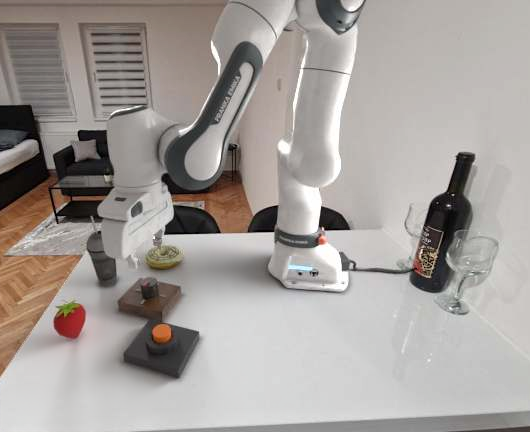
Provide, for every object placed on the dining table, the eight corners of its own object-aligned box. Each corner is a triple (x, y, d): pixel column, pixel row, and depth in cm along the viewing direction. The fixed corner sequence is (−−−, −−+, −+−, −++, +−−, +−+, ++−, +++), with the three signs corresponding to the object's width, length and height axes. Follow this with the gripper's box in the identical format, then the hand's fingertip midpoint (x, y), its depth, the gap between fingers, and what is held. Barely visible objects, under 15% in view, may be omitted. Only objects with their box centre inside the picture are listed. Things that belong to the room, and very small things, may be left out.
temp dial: (147, 286, 77) (145, 274, 76) (161, 289, 76) (159, 277, 75) (138, 296, 74) (136, 283, 72) (153, 299, 73) (151, 286, 71)
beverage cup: (113, 291, 80) (100, 223, 72) (88, 288, 82) (73, 221, 73) (126, 275, 87) (116, 211, 79) (103, 272, 88) (91, 209, 80)
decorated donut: (188, 264, 92) (187, 253, 91) (154, 275, 87) (153, 264, 85) (173, 249, 100) (172, 239, 99) (141, 259, 95) (140, 248, 93)
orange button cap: (174, 332, 62) (173, 326, 62) (165, 345, 59) (165, 339, 59) (158, 328, 63) (158, 322, 63) (149, 341, 60) (148, 334, 60)
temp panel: (181, 295, 79) (181, 285, 77) (163, 322, 70) (161, 311, 69) (141, 286, 82) (140, 277, 81) (119, 310, 74) (117, 300, 72)
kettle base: (199, 339, 65) (198, 324, 64) (179, 378, 57) (177, 363, 55) (150, 326, 69) (149, 312, 67) (124, 361, 60) (121, 346, 59)
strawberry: (53, 352, 62) (41, 314, 58) (68, 325, 69) (58, 289, 65) (82, 350, 63) (72, 313, 59) (94, 324, 70) (86, 288, 66)
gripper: (153, 178, 69) (159, 232, 75) (90, 211, 51) (103, 279, 57) (178, 180, 67) (182, 235, 73) (121, 216, 50) (132, 285, 55)
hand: (147, 255), depth 65 cm, fingers open, 8 cm apart
